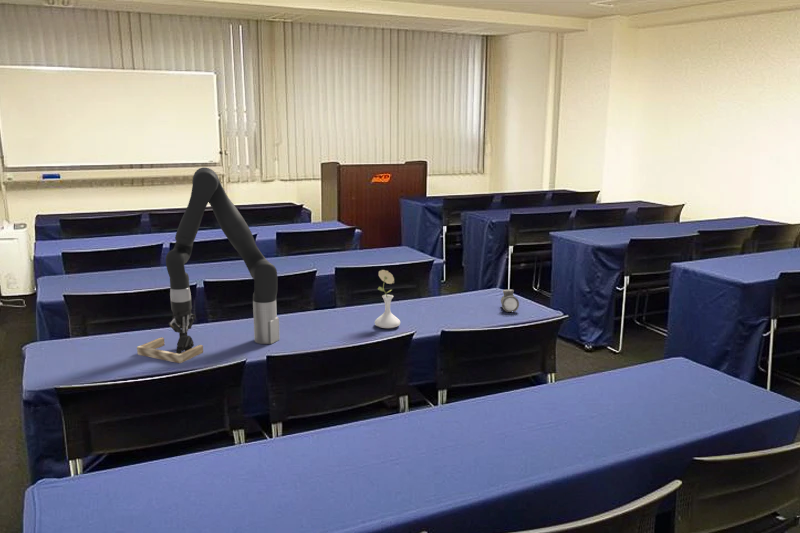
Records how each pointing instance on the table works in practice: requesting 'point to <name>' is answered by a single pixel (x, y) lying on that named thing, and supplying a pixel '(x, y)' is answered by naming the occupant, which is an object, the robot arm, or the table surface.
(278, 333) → the robot arm
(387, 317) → the flower in vase
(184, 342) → the power plug
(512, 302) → the pipe fitting
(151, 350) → the bracket
